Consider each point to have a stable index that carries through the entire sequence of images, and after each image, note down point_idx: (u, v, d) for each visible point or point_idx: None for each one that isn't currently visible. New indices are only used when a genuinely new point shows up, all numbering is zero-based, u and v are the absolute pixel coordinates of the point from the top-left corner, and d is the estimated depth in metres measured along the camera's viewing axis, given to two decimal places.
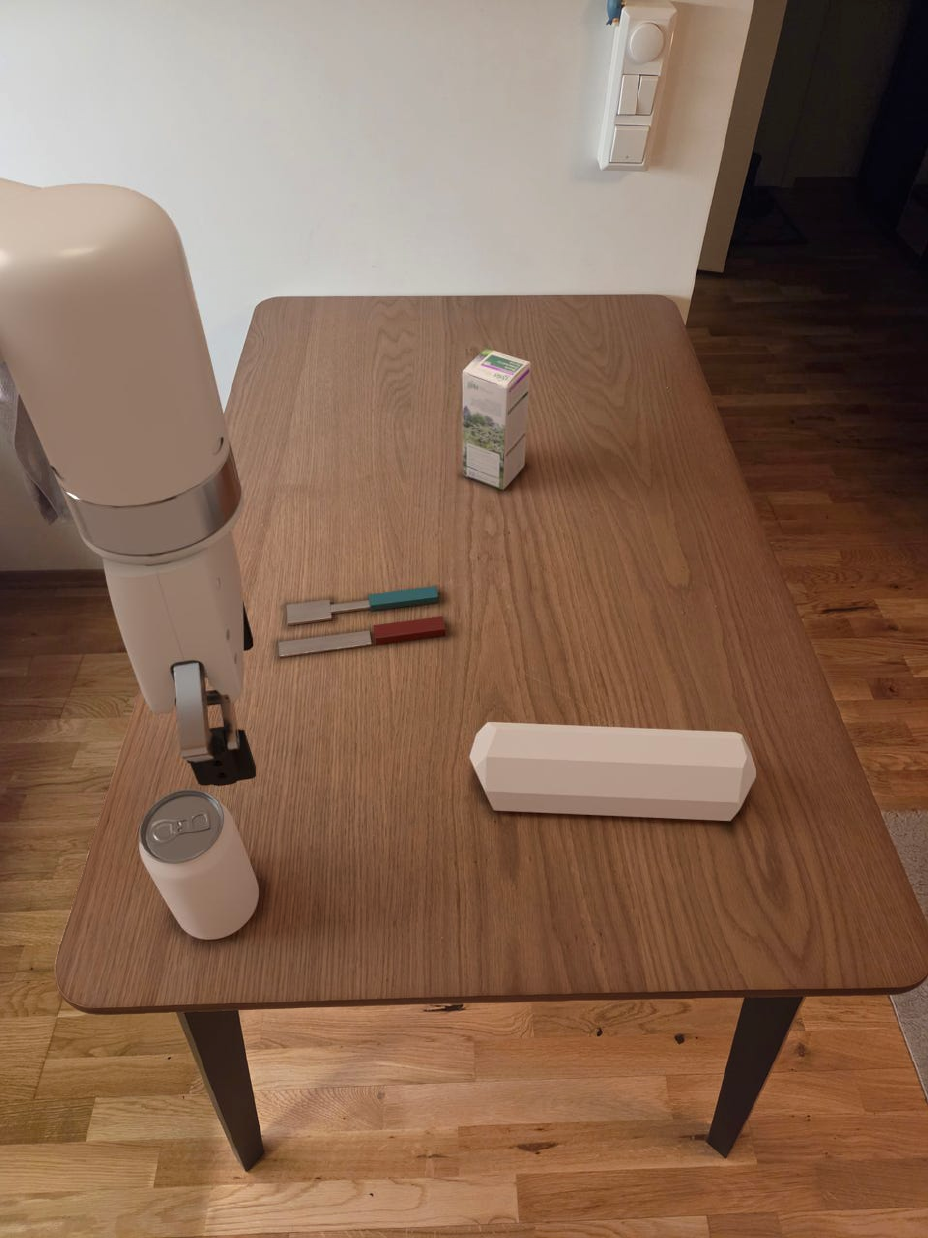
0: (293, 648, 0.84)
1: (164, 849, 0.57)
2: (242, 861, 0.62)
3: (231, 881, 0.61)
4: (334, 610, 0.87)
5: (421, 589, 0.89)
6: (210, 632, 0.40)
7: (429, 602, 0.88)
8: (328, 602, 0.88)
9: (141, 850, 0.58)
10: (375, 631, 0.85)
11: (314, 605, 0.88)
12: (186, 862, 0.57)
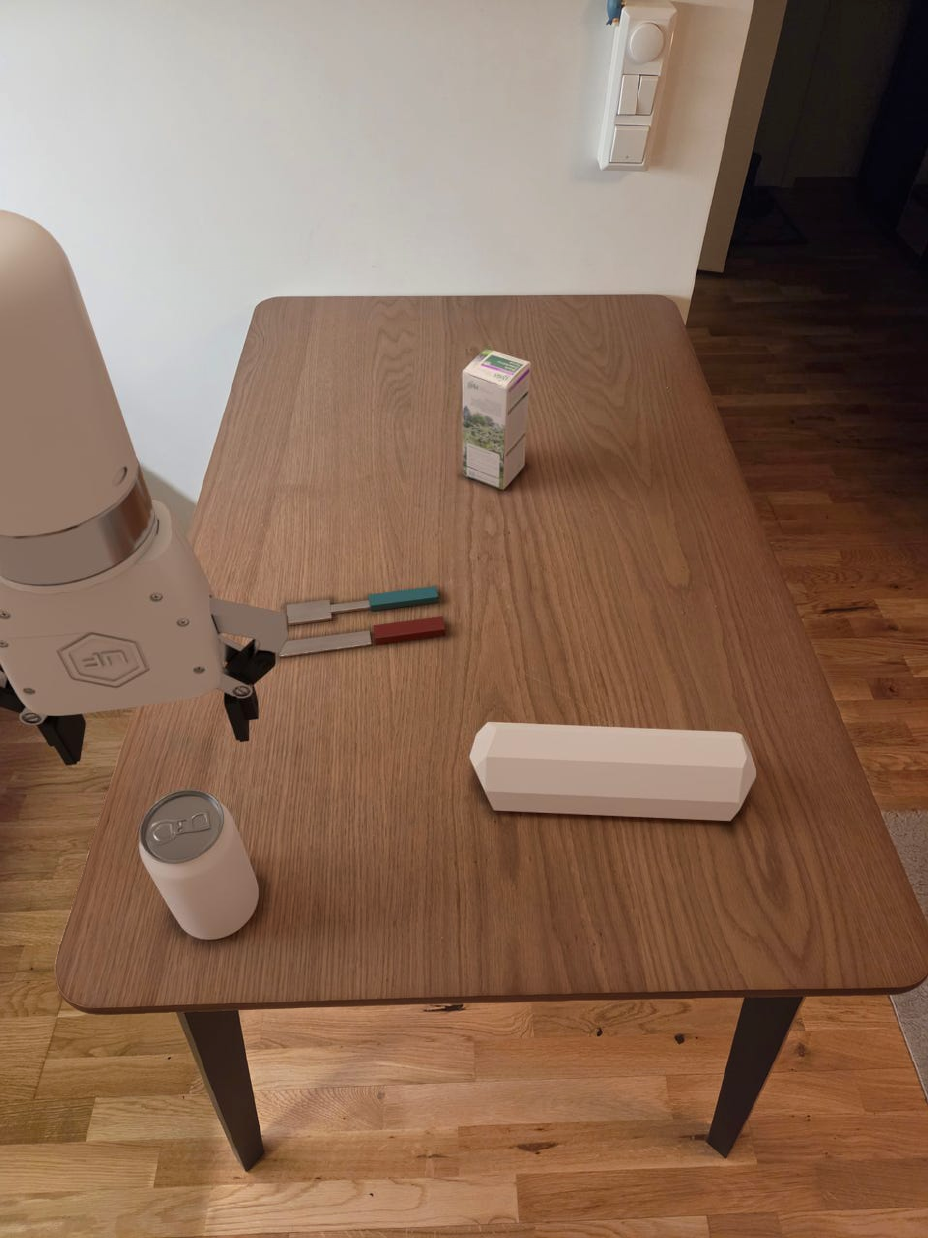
0: (293, 648, 0.84)
1: (164, 849, 0.57)
2: (242, 861, 0.62)
3: (231, 881, 0.61)
4: (334, 610, 0.87)
5: (421, 589, 0.89)
6: (198, 561, 0.44)
7: (429, 602, 0.88)
8: (328, 602, 0.88)
9: (141, 850, 0.58)
10: (375, 631, 0.85)
11: (314, 605, 0.88)
12: (186, 862, 0.57)
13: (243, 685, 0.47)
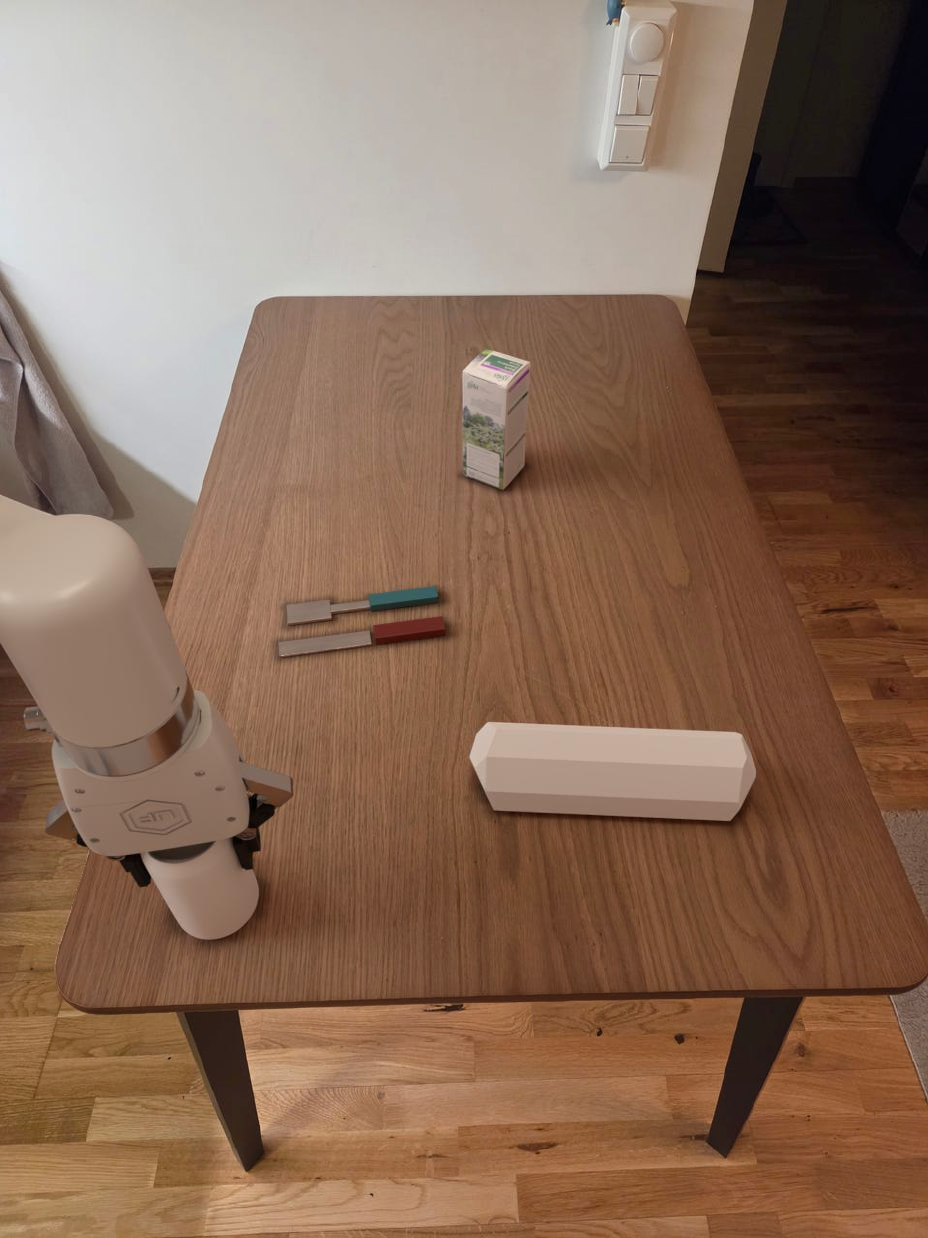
0: (293, 648, 0.84)
1: (165, 849, 0.57)
2: None
3: (231, 881, 0.61)
4: (334, 610, 0.87)
5: (421, 589, 0.89)
6: (230, 730, 0.54)
7: (429, 602, 0.88)
8: (328, 602, 0.88)
9: None
10: (375, 631, 0.85)
11: (314, 605, 0.88)
12: (187, 862, 0.57)
13: (250, 831, 0.58)
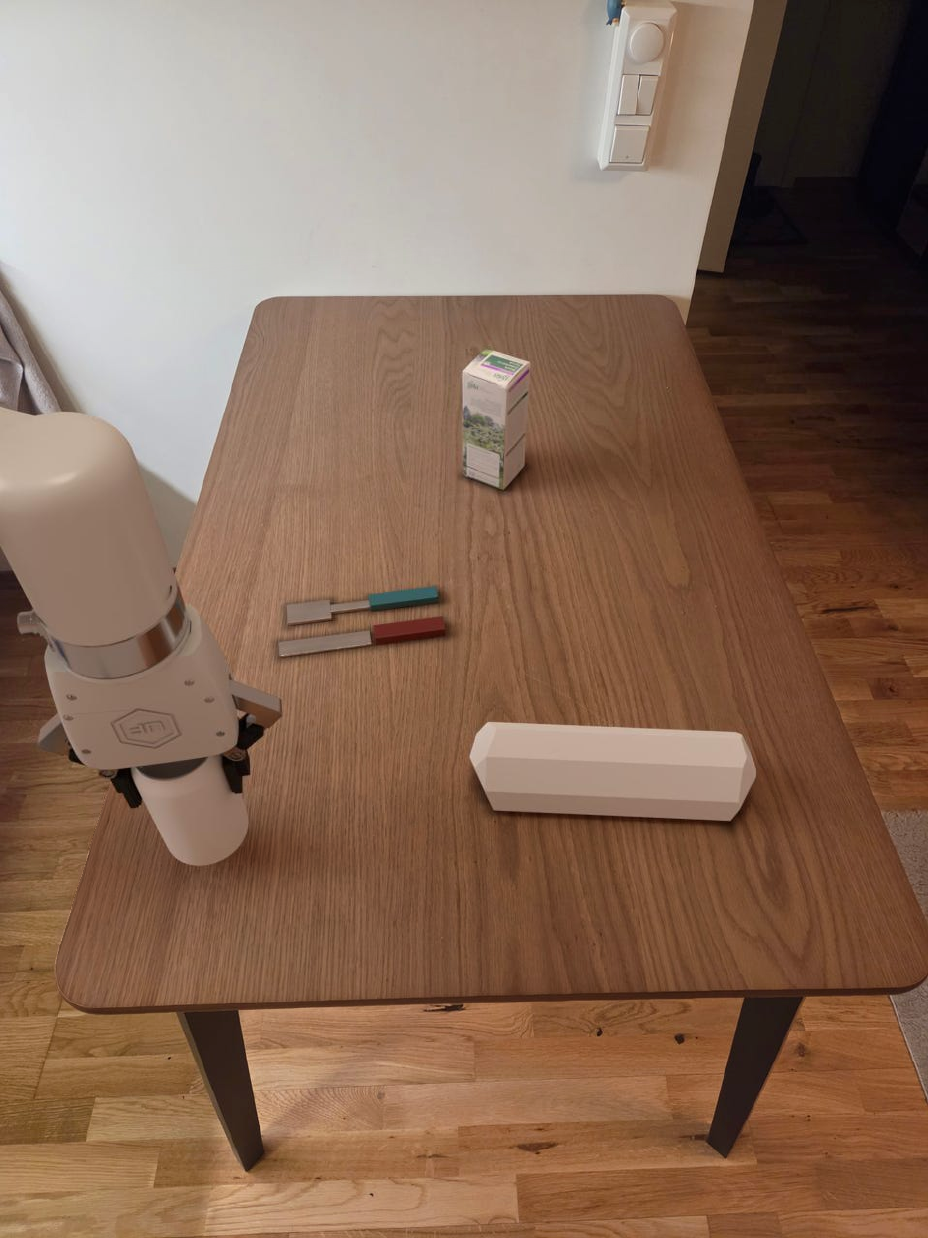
0: (293, 648, 0.84)
1: (155, 768, 0.58)
2: None
3: (221, 804, 0.62)
4: (334, 610, 0.87)
5: (421, 589, 0.89)
6: (220, 647, 0.55)
7: (429, 602, 0.88)
8: (328, 602, 0.88)
9: (132, 769, 0.59)
10: (375, 631, 0.85)
11: (314, 605, 0.88)
12: (176, 780, 0.58)
13: (240, 751, 0.59)
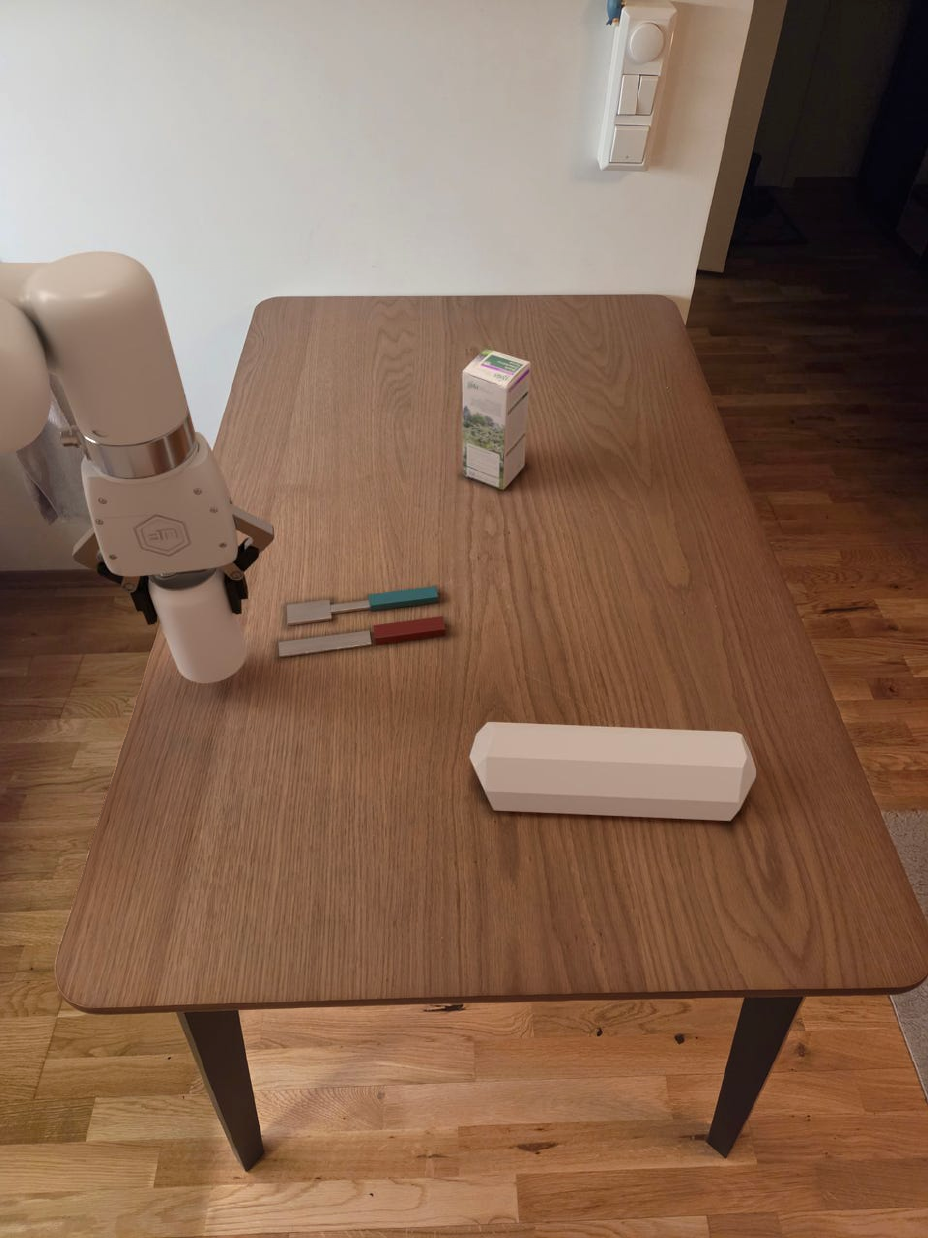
0: (293, 648, 0.84)
1: (169, 582, 0.70)
2: None
3: (223, 621, 0.73)
4: (334, 610, 0.87)
5: (421, 589, 0.89)
6: None
7: (429, 602, 0.88)
8: (328, 602, 0.88)
9: (149, 586, 0.71)
10: (375, 631, 0.85)
11: (314, 605, 0.88)
12: (186, 591, 0.69)
13: (239, 571, 0.71)
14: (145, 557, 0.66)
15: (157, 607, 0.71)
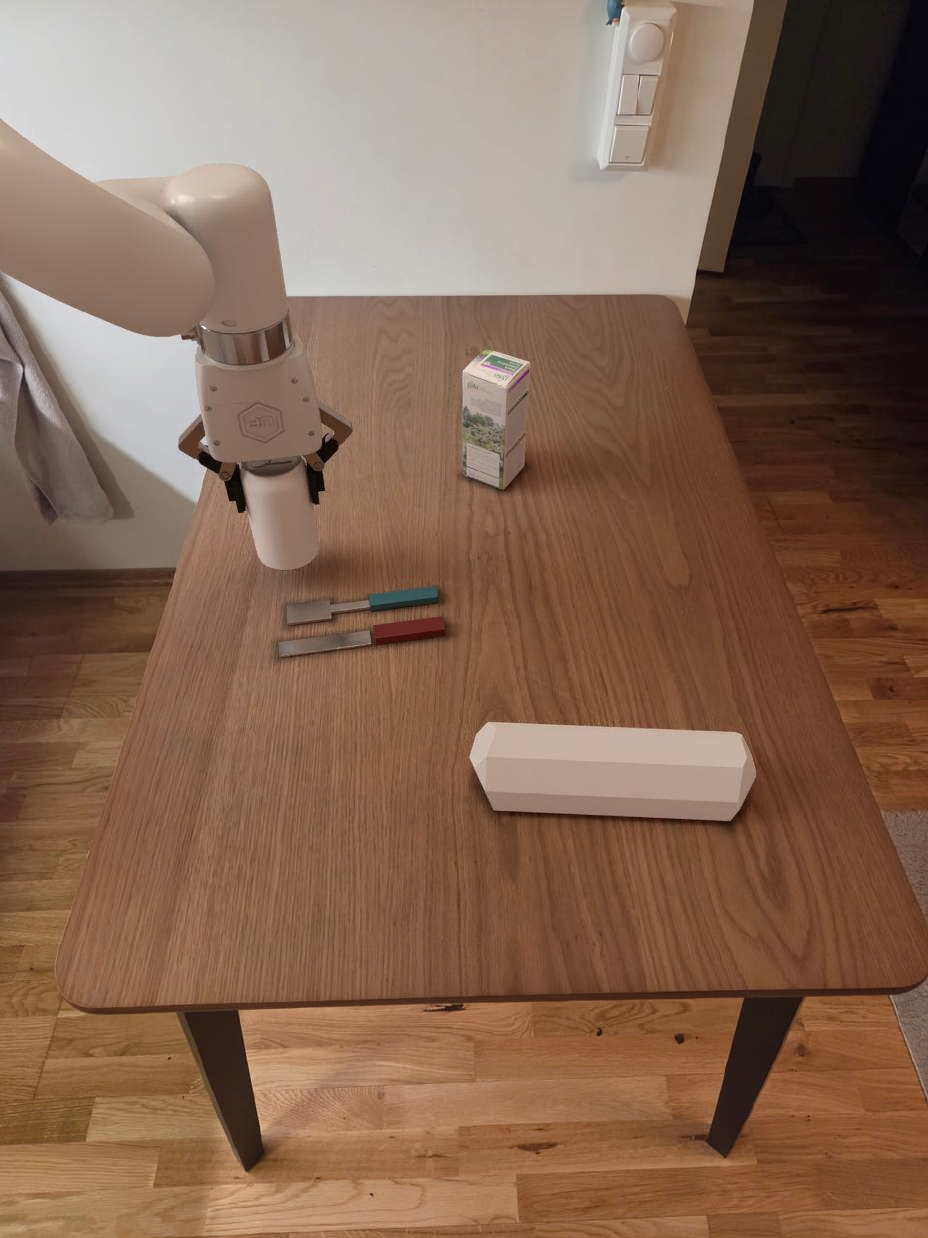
0: (293, 648, 0.84)
1: (260, 471, 0.80)
2: (311, 500, 0.84)
3: (304, 509, 0.83)
4: (334, 610, 0.87)
5: (421, 589, 0.89)
6: None
7: (429, 602, 0.88)
8: (328, 602, 0.88)
9: (242, 475, 0.81)
10: (375, 631, 0.85)
11: (314, 605, 0.88)
12: (276, 477, 0.79)
13: (321, 461, 0.81)
14: (244, 443, 0.76)
15: (248, 494, 0.81)
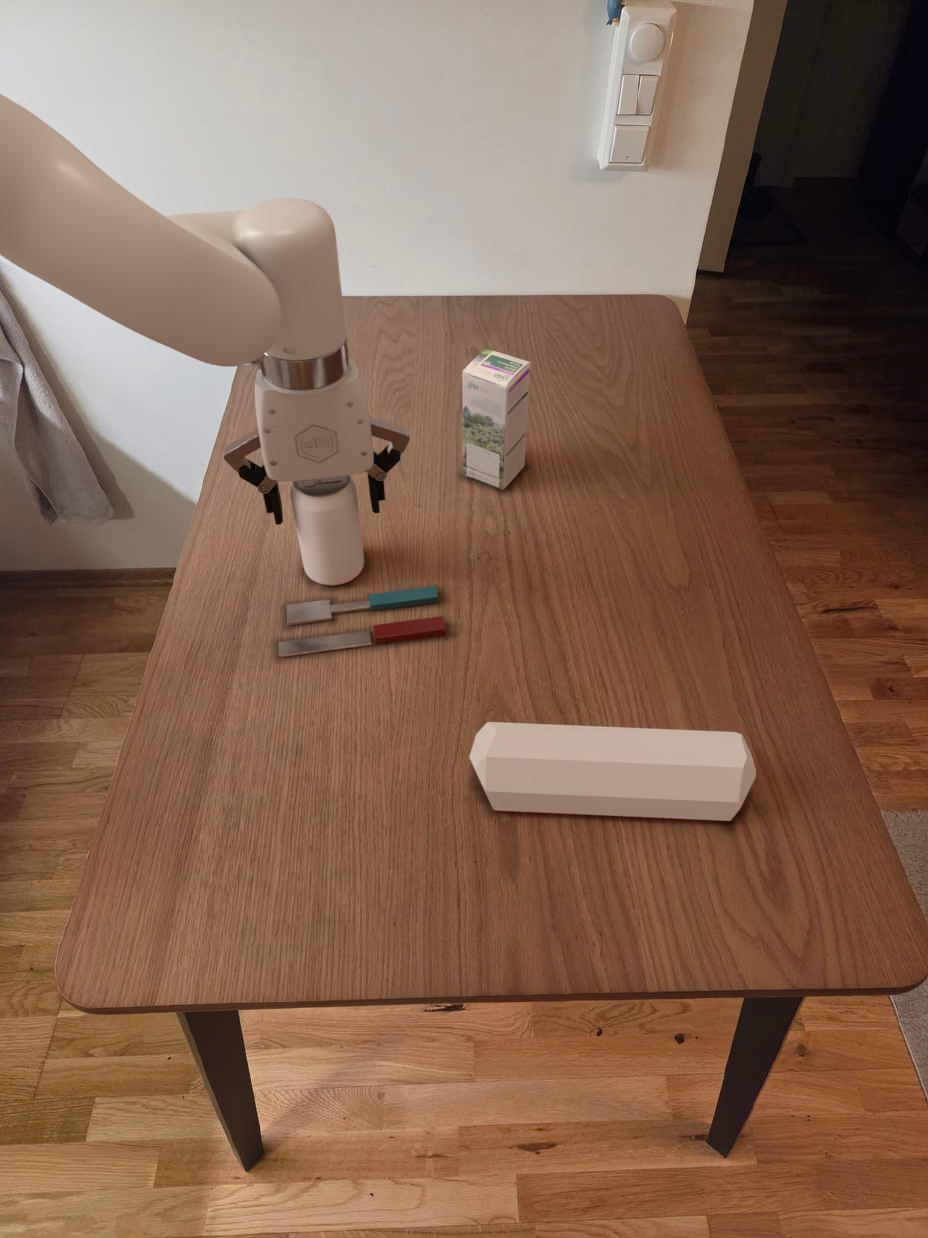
0: (293, 648, 0.84)
1: (311, 491, 0.83)
2: (358, 517, 0.87)
3: (352, 527, 0.86)
4: (334, 610, 0.87)
5: (421, 589, 0.89)
6: None
7: (429, 602, 0.88)
8: (328, 602, 0.88)
9: (293, 494, 0.83)
10: (375, 631, 0.85)
11: (314, 605, 0.88)
12: (327, 497, 0.82)
13: (382, 471, 0.83)
14: (299, 463, 0.78)
15: (299, 513, 0.84)
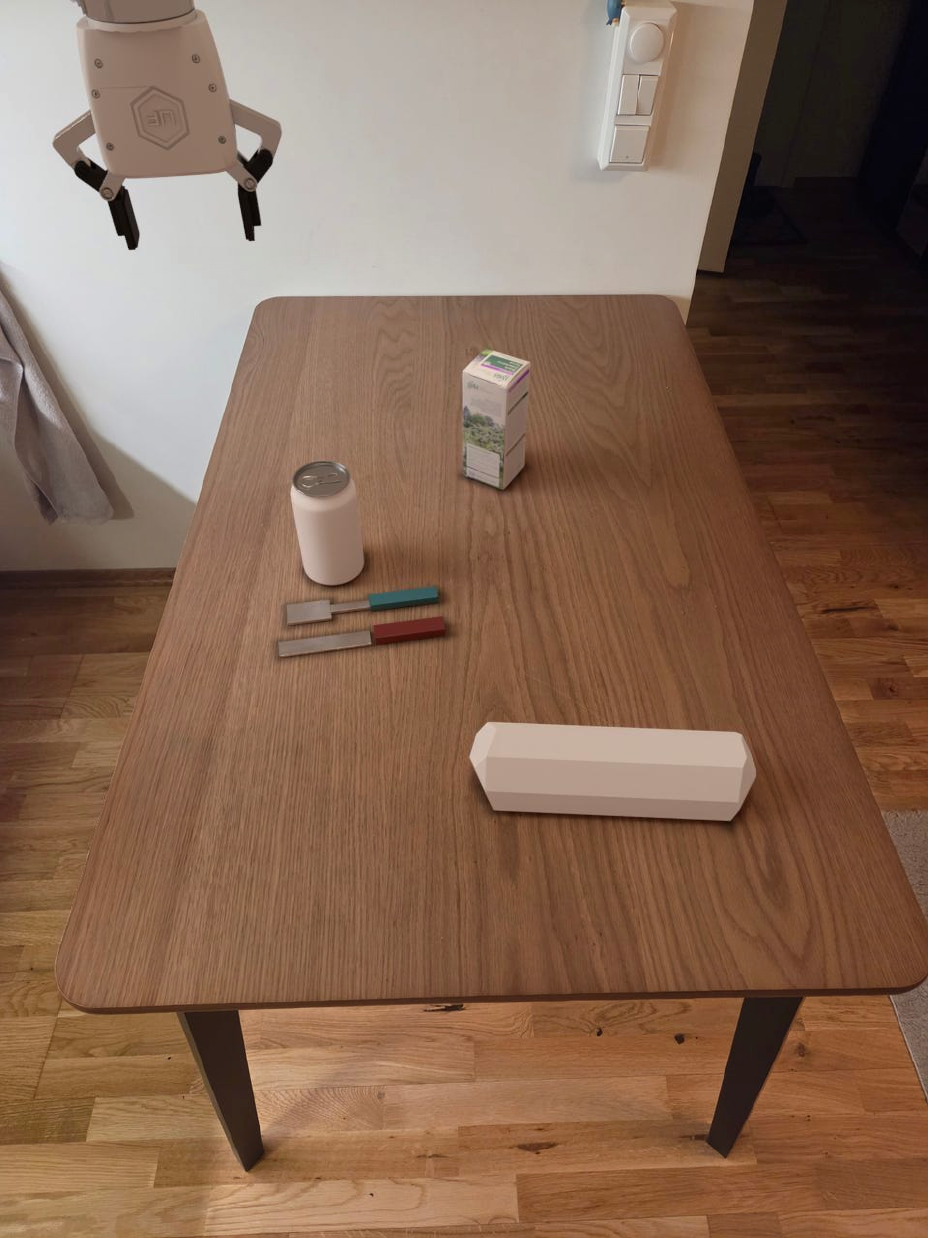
0: (293, 648, 0.84)
1: (311, 491, 0.83)
2: (358, 517, 0.87)
3: (352, 527, 0.86)
4: (334, 610, 0.87)
5: (421, 589, 0.89)
6: None
7: (429, 602, 0.88)
8: (328, 602, 0.88)
9: (293, 494, 0.83)
10: (375, 631, 0.85)
11: (314, 605, 0.88)
12: (327, 497, 0.82)
13: (251, 177, 0.69)
14: (143, 148, 0.65)
15: (299, 513, 0.84)
